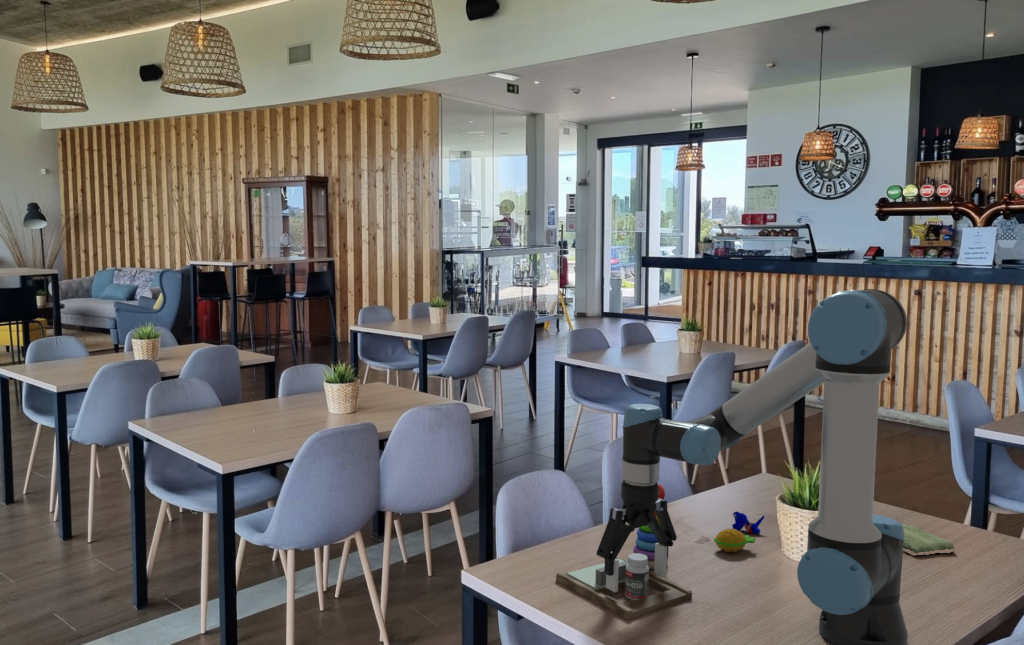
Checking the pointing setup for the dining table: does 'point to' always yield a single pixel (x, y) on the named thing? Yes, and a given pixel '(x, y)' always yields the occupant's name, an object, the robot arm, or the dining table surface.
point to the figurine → (746, 523)
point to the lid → (597, 575)
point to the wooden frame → (636, 608)
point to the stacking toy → (648, 538)
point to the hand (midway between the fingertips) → (636, 582)
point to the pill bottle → (636, 577)
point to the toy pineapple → (732, 540)
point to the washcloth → (923, 540)
